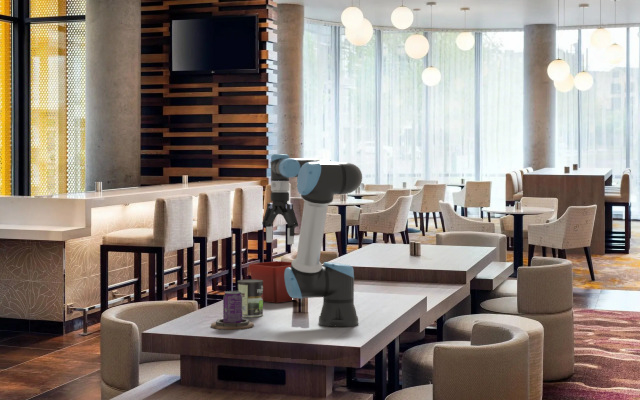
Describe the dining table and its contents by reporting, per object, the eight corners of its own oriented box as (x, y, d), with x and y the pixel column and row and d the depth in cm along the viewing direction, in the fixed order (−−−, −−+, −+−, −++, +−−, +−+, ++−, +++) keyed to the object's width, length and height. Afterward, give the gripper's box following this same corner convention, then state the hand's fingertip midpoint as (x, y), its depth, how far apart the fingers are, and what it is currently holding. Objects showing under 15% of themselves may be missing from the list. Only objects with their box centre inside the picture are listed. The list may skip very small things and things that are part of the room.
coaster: (262, 326, 312) (262, 321, 312) (227, 331, 301) (227, 326, 301) (236, 320, 324) (236, 315, 324) (202, 325, 313) (202, 320, 313)
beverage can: (232, 321, 317) (232, 290, 317) (246, 323, 313) (246, 291, 313) (219, 324, 312) (219, 292, 312) (232, 326, 307) (232, 293, 307)
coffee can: (266, 313, 341) (266, 279, 341) (259, 317, 331) (259, 282, 331) (241, 312, 343) (241, 278, 343) (234, 317, 333) (234, 281, 333)
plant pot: (247, 300, 378) (247, 263, 378) (280, 296, 391) (280, 260, 391) (274, 305, 364) (274, 266, 364) (307, 301, 377) (307, 263, 377)
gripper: (254, 191, 349) (254, 241, 349) (292, 192, 331) (292, 245, 331) (267, 191, 354) (267, 241, 355) (306, 192, 336) (306, 244, 336)
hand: (279, 243), depth 343 cm, fingers open, 13 cm apart
